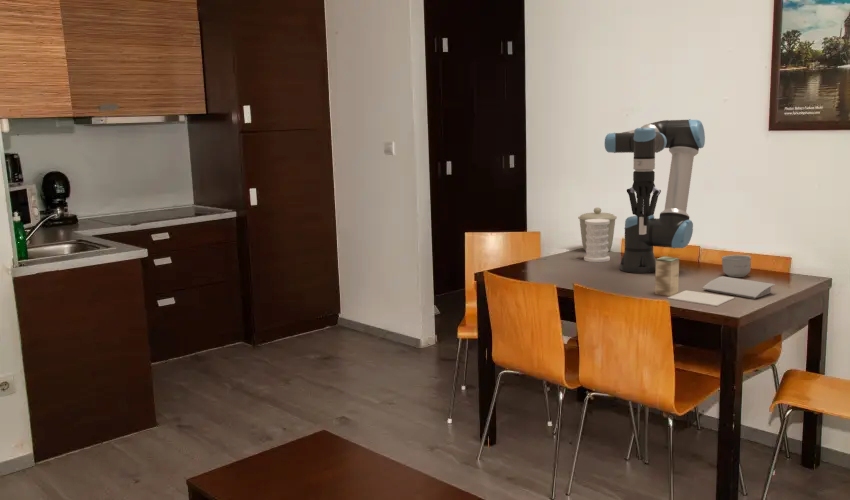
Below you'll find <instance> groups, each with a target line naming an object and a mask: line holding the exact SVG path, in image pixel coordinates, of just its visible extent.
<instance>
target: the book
mask: <svg viewBox="0 0 850 500" xmlns="http://www.w3.org/2000/svg"><path fill="white" fill-rule="evenodd" d="M774 286H776V284H775V283H768V282H764V281H756V280H750V279H743V278H738V277H729V276H723V275H722V276H718V277H716V278H714V279H712V280H710V281H709V282H708V283H706V284H705V285H704V286H702V289H704V290H707V291H708V292H713V293H718V294H723V295H724V294H725V295H728V296H729V295H730V296H735V295H736V297H740V296H741V298H747V299H752V300H756V299H757V298H760V297H764V296H767V295H769V294H771V292H772V291H771V290H772V289H771V288H772V287H774Z"/></svg>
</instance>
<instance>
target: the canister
mask: <svg viewBox="0 0 850 500" xmlns="http://www.w3.org/2000/svg"><path fill="white" fill-rule="evenodd" d="M617 218H618V217H617V216H615V214H613V213H610V212H609V213H608V212H602V208H600V207H595V208H594V209H593V212H587V213H586V212H585V213H582V214H581V215H580V216H578V219H579V227H580V228H579V229H580V237H581V245H582V249H583V250H584V251H586V248H587V246H586V241H587V239H586V234H587V232H586V227H587V225H586V224H585V220H588V219H607V220H610V224H608V228H609V231H608V236H609V237H608V243H609V244H608V250H609V251H610V250H611V249H612V246H613V241H614V234H615V225H616V220H617Z"/></svg>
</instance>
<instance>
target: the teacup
mask: <svg viewBox="0 0 850 500" xmlns="http://www.w3.org/2000/svg"><path fill="white" fill-rule="evenodd" d="M721 260H722V261H721V262H722V264H721V265H722V272H723V273H724V274H725V275H726V277H731V278H742V277H743V278H744V277H746V276H747V275H749V274H750V272H751V267H752V256H751V255H748V254H746V255H745V254H731V255H730V254H729V255H724V256H722V257H721Z"/></svg>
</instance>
